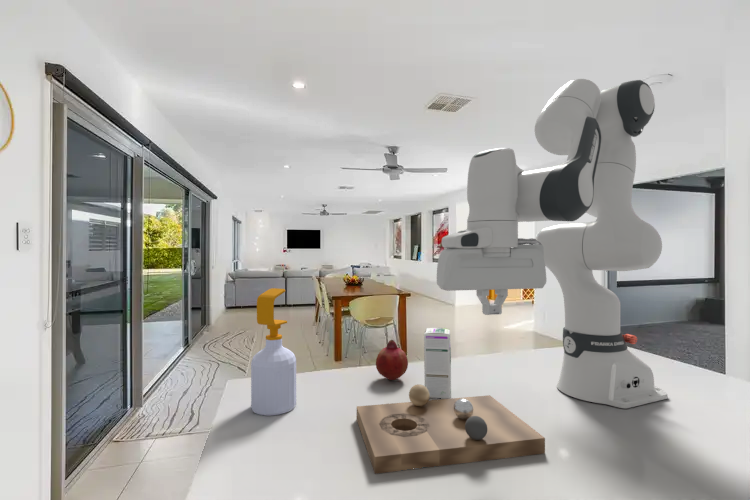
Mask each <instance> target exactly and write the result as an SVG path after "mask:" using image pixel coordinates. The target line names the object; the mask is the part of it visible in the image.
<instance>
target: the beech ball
mask: <svg viewBox="0 0 750 500" xmlns="http://www.w3.org/2000/svg"><path fill="white" fill-rule="evenodd" d="M408 398H409V402H412V403H413V404H414V405H416V406H424V405H425V404H427V402H428V401H429V400H430V399H431V398H430V394H429V391H428V389H427V388H426V387H425V385H423V384H414V385H413V386H411V387H410V390H409V392H408Z"/></svg>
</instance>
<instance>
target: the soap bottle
mask: <svg viewBox="0 0 750 500" xmlns="http://www.w3.org/2000/svg"><path fill="white" fill-rule="evenodd" d="M284 293H286V289H285V288H278V287H277V288H275V287H273V288H272V287H271V288H268V289H267V290H265V291H264V292H263V293H261V294H260V295H258V297H257V299H256V322H257V324H258V325H263V326H266V330H267V329H268V330H269V334H267V335H266V336H265V346H264V347H263V348H261V350H259V351H258V352H256V353H255V354H254V355H253V356H252V359H251V362H250V370H251V371H250V372H251V373H250V378H251V379H250V380H251V381H250V387H251V388H250V389H251V391H250V393H251V394H250V397H251V398H250V400H251V401H250V404H251V406H250V408H251V411H252V412H253V413H255V414H256V415H259V416H277V415H283V414H285V413H288V412H290V411H292V410H293V409H294V408H295V406H296V405H297V358H296V356H295V353H294V352H293V351H292V350H290V349H288V348H287V347H284V346H283V334H279V329H281V328H282V327H281V326H282V325H285V324H288V320H283V319H275V317H274V316H275V315H274V314H275V313H274V311H275V309H274V308H275V300H276V299H277V298H278V297H279V296H282V294H284Z"/></svg>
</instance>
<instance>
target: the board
mask: <svg viewBox="0 0 750 500" xmlns="http://www.w3.org/2000/svg"><path fill="white" fill-rule="evenodd" d="M459 399H467V400H468V401H470V402H471V404H472V405H473V415H472V416H478V417H481V418H482V419H483V420H484V421H485V422H486V424H487V434H486V436H485V437H484V438H483V439H480V440H474V439H472V438H470V437H469V436H468V434H467V433H466V430H465V423H466V421H467V419H466V420H462V419H460V418H458V417H457V416H456V415H455V413H454V409H453V408H454V404H455V402H456V401H457V400H459ZM472 416H471V417H472ZM356 422H357V425H358V427H359V430H360V434H361V436H362V437H361V438H362V439H363V442H364V446H365V448H366V452H367V455H368V458H369V460H370V463H371V466H372V469H373V472H374V474H375V475H376V474H383V473H384V474H385V473H386V474H387V473H393V472H401V470H403V471H408V470H407V469H411V470H416V469H415V468H419V469H423V468H422V467H428V468H434V466H436V467H443V466H451V465H458V464H459V465H460V464H468V463H475V462H476V463H477V462H485V461H494V460H500V459H509V458H519V457H526V456H535V455H541V454H546V437H544V436H543V435H542V434H541V433H539V432H538V430H537V431H536V429H534V428H533V427H532V426H530V425H529V424H528V423H527V422H525V421H524V420H523V419H521V418H520V417H518V416H517V415H516V414H515V413H513V412H512V411H511V410H510V409H509V408H507V407H506V406H504V405H503V404H502V403H500V402H499V401H498V400H497V399H496V398H494V397H493V396H491V395H489V394H488V395H477V396H468V397H467V396H465V397H453V398H452V397H451V398H450V399H429V401H428V402H427V404H425V405H424V406H416V405H414V404H413V403H412V402H411V401H407V402H405V401H404V402H395V403H382V404H370V405H359V406H357V405H356ZM413 468H414V469H413Z"/></svg>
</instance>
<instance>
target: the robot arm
mask: <svg viewBox="0 0 750 500" xmlns="http://www.w3.org/2000/svg"><path fill="white" fill-rule="evenodd" d="M655 107H656V105H655V95H654V92H653V91H652V89H651V87H650V86H649V84H648V83H647V82H645V81H643V80H641V79H635V80H628V81H625V82H622V83H620V84H619V85H615V86H612V87H609V88H606V89H602V90H600V88H599V86H598V85H597V84H596V83H595V82H594V81H591V80H589V79H586V78H576V79H573V80H570V81H568V82H566V83H565V84H564V85H563V86H561V87H560V88H559V89H558V90H557V91H556V92H555V93H554V94H553V95H552V96H551V97H550V99H549V100H548V101H547V102H546V104H545V105H544V107H543V109H542V110H541V111H540V113H539V115H538V116H537V119H536V122H535V125H534V136H535V139H536V141H537V143H538V144H539V146H540V147H541V148H542V149H544V150H545V151H546V152H549V153H550V154H553V155H556V156H567V159H566V160H565V161H564V162H561V163H560V164H557V165H554V166H549V167H543V168H539V169H533V170H527V171H525V170H523V169H521V168H520V167H519V166H518V165H517V160H516V153H515V151H514V149H513V148H510V147H499V148H493V149H487V150H484V151H480V152H477V153H476V154H475V155H473V156H472V157H471V159H470V161H469V162H470V163H469V166H468V173H467V184H466V185H467V188H466V189H467V191H466V197H467V198H466V199H467V203H468V209H469V211H468V216H467V219H466V221H467V222H466V223H467V224H466V226H467V227H466V228H465V229H464V230H460V231H457V232H454V233H450V234H447V235H444V236H443V237H442V238H441V247H442V248H444V249H443V250H441V252H440V253H439V256H438V259H437V268H436V284H437V286H438V287H439V288H440V289H441V290H443V291H448V292H449V291H452V292H453V291H454V292H455V291H475V292H476V297H477V298H478V301H479V302H480V304H481V309H482V311H481V312H482V314H483V315H485V316H492V315H495V316H497V315H501V314H502V313H503V309H502V308H503V304H504V303H505V301H506V299H507V297H508V296H509V295H508V293H509V292H508V291H509V290H528V289H530V290H531V289H543V288H544V287H545V285H546V284H547V272H546V271H547V269H548V270H549V271H550V272H551V273H552V274H553V275H554V276H555V278H556V280H557V282H558V284H559V286H560V288H561V292H562V297H563V304H564V327H563V328H562V346H563V358H562V362H561V363H562V365H561V369H560V376H559V378H558V381H557V385H556V388H557V389H558V390H559V391H560V392H562V393H564V394H565V395H567V396H569V397H573V398H575V399H578V400H581V401H584V402H592V403H596V404H603V405H608V406H612V407H615V408H620V409H630V408H634V407H639V406H642V405H646V404H650V403H654V402H660V401H663V400H667V399H668V398H669V395H668V393H667V392H666V391H665V390H663V389H662V388H660V387H658V386H656V385H655V377H654V372H653V370H652V369H651V367H650V366H649V365H648V364H647V363H645V362H644V361H643V360H641V359H640V358H639V357H638V356H636V355H635V353H633V352H632V351H630V350H629V349H628V345H627V343H629V344H631V345H636V344H637V342H638V340H639V339H638V337H637V336H636V335H633V334H629V333H625V334H623V333H622V331H621V300H620V299H619V297H618V295H617V294H616V293H615V292H613V291H612V290H610V289H609V288H607V287H605V286H604V285H602V284H600V283H599V282H598V281H597V280H596V279H595V276H594V273H593V271H604V272H605V271H608V272H630V271H631V272H632V271H638V270H645V269H650V268H651V267H653V265H654V264H655V263H656V262H657V261H658V259H660V256H661V254H662V251H663V250H662V249H663V241H662V238H661V235H660V234H659V233H660V232H659V231H658V230H657V229H656V228H655V227H654V226H653V225H652V224H650V223H648V222H647V221H645V220H643V219H641V218H640V217H639V216H638V215H637V214H636V212H635V210H634V208H633V206H632V194H633V186H634V180H635V174H636V167H637V166H636V165H637V153H636V152H637V151H636V145H635V143H634V141H633V139H632V138H637V137H638V136H640V135H641V134H642V133H643V131H644V128H645V126H647V125H648V123H650V120H651V119H652V116H653V114H654V112H655ZM585 214H587V215H589V216H592V217H594V218H596V219H595V220H594V221H590V222H575V221H577V220H579V219H580V218H581V217H582V216H583V215H585ZM546 221H547V222H548V221H553V222H567V223H559V224H555V225H551V226H547V227H543V228H542V229H541V230H540V231H539V232H538V234H537V236H536V237H535V238H524V237H523V238H522V237H520V238H519V223H521V222H522V223H523V222H526V223H527V222H528V223H529V222H530V223H532V222H546ZM569 222H571V223H569ZM546 268H547V269H546ZM490 290H491V291H492V290H493V291H494V295H496V297H495V300H494V301H493V303H490V302H489V300H488V298H487V297H488V296H490Z"/></svg>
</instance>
